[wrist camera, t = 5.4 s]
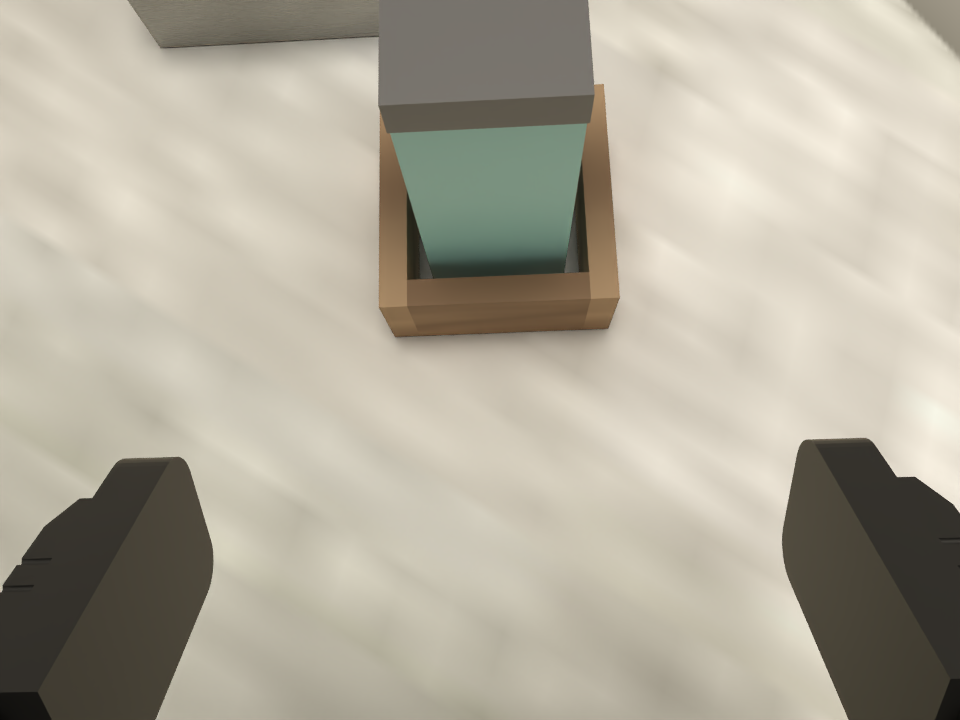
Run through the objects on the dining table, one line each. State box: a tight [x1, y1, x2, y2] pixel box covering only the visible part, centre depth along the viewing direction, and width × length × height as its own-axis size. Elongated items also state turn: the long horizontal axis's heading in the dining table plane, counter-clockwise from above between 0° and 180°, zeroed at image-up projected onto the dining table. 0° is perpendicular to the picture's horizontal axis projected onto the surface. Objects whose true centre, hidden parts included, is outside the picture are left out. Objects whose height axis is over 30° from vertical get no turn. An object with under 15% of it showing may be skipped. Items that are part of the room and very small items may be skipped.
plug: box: [378, 0, 595, 279], centre depth 21 cm, size 4×4×11 cm
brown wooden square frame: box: [379, 84, 620, 337], centre depth 25 cm, size 7×7×3 cm
